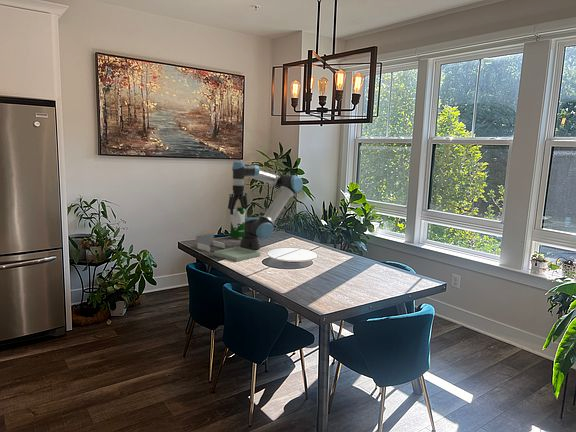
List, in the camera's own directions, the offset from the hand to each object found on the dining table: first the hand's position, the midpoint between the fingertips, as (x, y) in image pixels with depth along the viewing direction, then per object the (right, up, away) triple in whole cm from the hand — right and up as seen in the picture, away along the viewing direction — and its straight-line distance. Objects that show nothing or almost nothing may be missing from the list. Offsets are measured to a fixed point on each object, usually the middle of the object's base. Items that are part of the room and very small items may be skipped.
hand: (237, 218), depth 283 cm
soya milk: (0, -12, +2) cm, 13 cm away
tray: (-1, -26, +4) cm, 26 cm away
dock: (-22, -22, +24) cm, 39 cm away
